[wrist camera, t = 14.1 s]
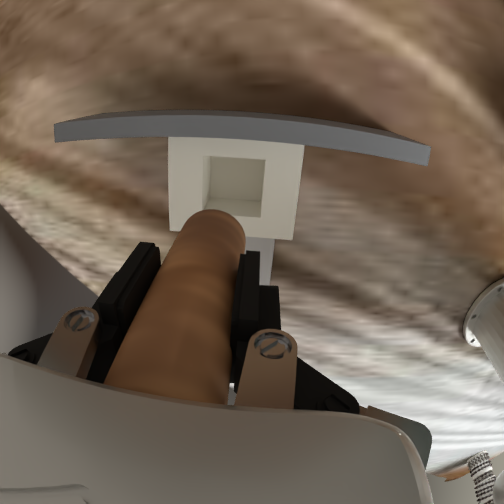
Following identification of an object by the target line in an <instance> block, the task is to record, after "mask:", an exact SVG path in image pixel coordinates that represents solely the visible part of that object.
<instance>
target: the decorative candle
mask: <svg viewBox="0 0 504 504" xmlns="http://www.w3.org/2000/svg"><path fill="white" fill-rule="evenodd" d="M486 452H487V450H485V451H482V452H479V453H478V454H476V455H474V456H473V457H471V458H470V459H469V460H468V461H467V463H468V466H469V470H471V471H470V473H472V474H471V477H472V478H473V480H474V483H475V487H474V488H475V489H477V491H476V492H475V493H478V494H477V495H476V497H479V499H478V500H477V501H480V502H479V503H478V504H494V502H493V486H494V483H495V480H496V476H495V475H493V472H492V467H491V465H492V464H490V462H491V461H489V456H488V453H486Z"/></svg>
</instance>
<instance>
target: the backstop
mask: <svg viewBox="0 0 504 504" xmlns="http://www.w3.org/2000/svg"><path fill="white" fill-rule="evenodd" d="M54 136H55V142H65V141H77V140H90V139H106V138H129V137H202V138H226V139H243V140H257V141H269V142H280V143H290V144H299V145H308V146H316V147H323V148H331V149H338V150H344V151H351V152H357V153H363V154H369V155H374V156H380V157H385V158H390V159H396V160H400V161H405V162H410V163H415V164H419V165H424V166H428V161H429V156H430V150H431V147H430V146H428V145H425V144H423V143H420V142H417V141H415V140H412V139H409V138H407V137H404V136H401V135H398V134H396V133H393V132H389V131H384V130H380V129H375V128H370V127H365V126H359V125H354V124H348V123H342V122H336V121H329V120H322V119H315V118H308V117H299V116H291V115H281V114H270V113H258V112H243V111H224V110H148V111H128V112H114V113H102V114H96V115H91V116H86V117H82V118H77V119H73V120H68V121H64V122H60V123H56V124H54ZM245 237H246V244H245V253H244V254H246V250H250V251H260V283H259V285H270V277H271V269H272V260H273V252H274V243H275V239H271V238H259V237H247V236H245Z"/></svg>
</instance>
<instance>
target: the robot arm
mask: <svg viewBox="0 0 504 504" xmlns="http://www.w3.org/2000/svg"><path fill="white" fill-rule="evenodd" d="M160 267H161V260H160V249H159V247H155V244H154V243H148V242H140V243H139V244H138V245H137V247H136V248H135V249H134V251H133V252H132V253H131V255H130V256H129V258H128V259H127V260H126V262H125V263H124V264H123V266H122V267H121V269H120V270H119V271H118V272H116V273H115V275H114V276H113V277H112V279H111V280H110V282H109V283H108V285H107V286H106V287H105V289H104V290H103V292H102V293H101V295H100V296H99V298H98V299H97V301H96V302H95V304H94V305H93V307H92V308H89V307H78V308H74V309H72V310H70V311H68V312H67V313H65V314H64V315H63V317H62V318H61V320H60V321H59V323H58V325H57V327H56V329H55V331H54V332H53V333H51V334H48V335H46V336H43V337H41V338H38V339H35V340H33V341H30V342H27V343H25V344H22V345H20V346H18V347H16V348H14V349H12V350H11V351H10V352H9V354H8V355H7V354H6V353H0V504H434V502H433V499H432V494H431V490H430V485H429V481H428V478H427V475H426V472H425V470H426V466H427V462H428V458H429V453H430V449H431V444H432V436H431V433H430V431H429V430H428V428H427V427H426V426H425V425H423V424H421V423H419V422H416V421H413V420H410V419H407V418H403V417H400V416H397V415H395V414H392V413H389V412H386V411H383V410H380V409H377V408H374V407H372V406H369V405H368V407H367V408H364V407H362V406H359V403H358V402H357V400H356V399H355V397H353V396H352V395H351V394H350V393H349V392H347V391H346V390H344V389H343V388H341V387H340V386H338V385H337V384H335V383H334V382H333V381H331V380H330V379H328V378H327V377H325V376H324V375H322V374H321V373H320V372H318V371H317V370H315V369H314V368H312V367H311V366H310V365H308V364H307V363H305V362H304V361H303V360H301V359H300V358H298V357H297V343H296V341H295V339H294V338H293V337H292V336H291V335H290V334H288V333H286V332H284V331H282V330H281V321H280V303H279V288H278V286H269V285H259V283H260V251H250V250H246V254H240V258H239V265H238V273H237V280H236V287H235V294H234V301H233V308H232V316H231V332H230V347H231V350H232V366H231V375H230V383H234V392H235V393H236V394H237V395H236V399H235V404H234V405H223V404H214V403H205V402H198V401H190V400H183V399H177V398H170V397H164V396H158V395H153V394H147V393H142V392H137V391H132V390H127V389H123V388H118V387H114V386H109V385H105V384H103V383H104V381H105V379H106V377H107V374H108V372H109V370H110V368H111V366H112V363H113V361H114V359H115V357H116V355H117V353H118V350H119V348H120V346H121V344H122V342H123V340H124V338H125V336H126V334H127V331H128V329H129V327H130V325H131V323H132V321H133V319H134V317H135V315H136V313H137V311H138V309H139V307H140V305H141V303H142V301H143V299H144V297H145V295H146V293H147V292H148V290H149V288H150V286H151V284H152V282H153V280H154V278H155V276H156V274H157V273H158V271H159V269H160ZM463 335H464V338H465V339H466V341H467V342H468V344H470V345H472V346H476V347H479V346H482V348H483V350H484V351H485V353H486V355H487V356H488V358H489V360H490V361H491V363H492V365H493V367H494V368H495V370H496V372H497V374H498V375H499V377H500V379H501V381H502V383H503V384H504V278H503V279H501V280H498V281H496V282H495V283H493V284H492V285H490V286H489V287H488V288H487V289H486V290H485V291H484V292H483V293H481V294H480V296H479V297H478V298H477V299H476V300H475V302H474V303H473V305H472V306H471V308H470V310H469V311H468V313H467V315H466V318H465V321H464V325H463ZM493 502H494V504H504V470H503V471H502V472H501V473H500V474H499V476H498V477H497V479H496V480H495V483H494V486H493Z"/></svg>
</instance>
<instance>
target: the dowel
mask: <svg viewBox="0 0 504 504" xmlns="http://www.w3.org/2000/svg"><path fill="white" fill-rule="evenodd" d="M245 244H246V237H245V233H244V230H243V228H242V226H241V224H240V223H239V222H238V221H237V220H236V219H235V218H234V217H233V216H232V215H230V214H228V213H226V212H224V211H221V210H216V209H207V210H202V211H199V212H197V213H195V214H193V215H192V216H191V217H189V218H188V219H187V221H186V222H185V224H184V225H183V227H182V229H181V231H180V232H179V234H178V236H177V238H176V240H175V241H174V243H173V245H172V247H171V249H170V250H169V252H168V254H167V256H166V258H165V260H164V261H163V263H162V265H161V267H160V269H159V271H158V273H157V274H156V276H155V278H154V280H153V282H152V284H151V286H150V288H149V290H148V292H147V293H146V295H145V297H144V299H143V301H142V303H141V305H140V307H139V309H138V311H137V313H136V315H135V317H134V319H133V321H132V323H131V325H130V327H129V329H128V331H127V334H126V336H125V338H124V340H123V342H122V344H121V346H120V348H119V350H118V353H117V355H116V357H115V359H114V361H113V363H112V366H111V368H110V370H109V372H108V374H107V377H106V379H105V381H104V383H103V384H105V385H109V386H114V387H118V388H123V389H127V390H132V391H137V392H142V393H147V394H153V395H158V396H164V397H170V398H177V399H183V400H190V401H198V402H205V403H214V404H223V405H227V402H228V393H229V384H230V375H231V366H232V350H231V347H230V332H231V316H232V308H233V301H234V294H235V287H236V280H237V273H238V265H239V258H240V254H244V253H245Z"/></svg>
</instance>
